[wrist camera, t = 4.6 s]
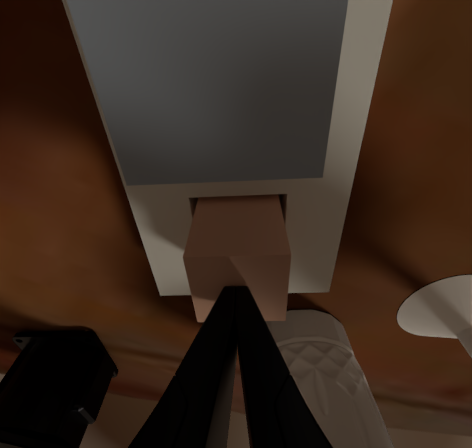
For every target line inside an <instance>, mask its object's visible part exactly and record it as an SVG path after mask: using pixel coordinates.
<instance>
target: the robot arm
mask: <svg viewBox="0 0 472 448" xmlns="http://www.w3.org/2000/svg"><path fill="white" fill-rule="evenodd" d="M12 340H13V342H14V343H15V344H16V345H17V346H18V347H19V348H20V349H21V350H22V351H21V353H20V354H19V356H18V357H17V359H16V360H15V362H14V363H13V365H12V366H11V367H10V369H9V370H8V372H7V373H6V375H5V376H4V378H3V379H2V381H1V382H0V448H79V446H80V444H81V441H82V439H83V436H84V434H85V431H86V429H87V426H88V424H93V423H94V422H95V420H96V418H97V416H98V413H99V410H100V407H101V405H102V402H103V399H104V397H105V394H106V392H107V389H108V386H109V384H110V381H111V378H112V377H116V376H117V374H118V369H117V367H116V366H115V364H114V363H113V361H112V359H111V358H110V356H109V355H108V353H107V351H106V350H105V348H104V347H103V345H102V343H101V342H100V340H99V339H98V337H97V335H96V334H95V333H93V332H21V333H16V334H15V336H14V337H13V338H12ZM237 345H238V356H239V364H240V372H241V380H242V388H243V396H244V404H245V412H246V420H247V429H248V437H249V445H250V448H333V447H332V445H331V444H330V442H329V440H328V439H327V437H326V436H325V434H324V432H323V431H322V429H321V428H320V426H319V425H318V423H317V421H316V419H315V418H314V416H313V414H312V413H311V411H310V409H309V408H308V406H307V404H306V402H305V400H304V398H303V397H302V395H301V393H300V391H299V389H298V387H297V385H296V383H295V381H294V379H293V377H292V375H290V371H289V369H288V367H287V365H286V363H285V361H284V359H283V357H282V355H281V352H280V350H279V348H278V346H277V344H276V342H275V340H274V338H273V336H272V334H271V332H270V330H269V328H268V326H267V324H266V322H265V320H264V318H263V316H262V314H261V311H260V309H259V307H258V305H257V303H256V301H255V299H254V297H253V295H252V293H251V291H250V289H249V287H248V286H237V287H235V286H224V287H223V289H222V291H221V292H220V294H219V296H218V298H217V300H216V301H215V303H214V305H213V307H212V309H211V310H210V312H209V314H208V316H207V317H206V319H205V321H204V323H203V325H202V326H201V328H200V330H199V332H198V334H197V335H196V337H195V339H194V341H193V342H192V344H191V346H190V348H189V350H188V351H187V353H186V355H185V357H184V359H183V360H182V362H181V364H180V366H179V368H178V369H177V371H176V373H175V375H176V376H173V378H172V380H171V382H170V383H169V385H168V387H167V389H166V390H165V392H164V394H163V395H162V397H161V399H160V400H159V402H158V404H157V405H156V407H155V408H154V410H153V412H152V413H151V415H150V416H149V418H148V419H147V421H146V422H145V424H144V425H143V426H142V428H141V429H140V431H139V432H138V434H137V435H136V437H135V438H134V439H133V441H132V442H131V444H130V445H129V447H128V448H226V447H227V439H228V429H229V420H230V412H231V403H232V394H233V386H234V377H235V368H236V359H237Z"/></svg>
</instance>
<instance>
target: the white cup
mask: <svg viewBox="0 0 472 448" xmlns="http://www.w3.org/2000/svg"><path fill="white" fill-rule="evenodd" d="M265 322H266V324H267V326H268V328H269V330H270V332H271V334H272V336H273V338H274V340H275V342H276V344H277V346H278V348H279V350H280V352H281V355H282V357H283V359H284V361H285V363H286V365H287V367H288V369H289V371H290V375H292V377H293V379H294V381H295V383H296V385H297V387H298V389H299V391H300V393H301V395H302V397H303V398H304V400H305V402H306V404H307V406H308V408H309V409H310V411H311V413H312V414H313V416H314V418H315V419H316V421H317V423H318V425H319V426H320V428H321V429H322V431H323V432H324V434H325V436H326V437H327V439H328V440H329V442H330V444H331V445H332V447H333V448H394V446H393V443H392V441H391V438H390V436H389V433H388V431H387V428H386V426H385V423H384V421H383V418H382V416H381V413H380V411H379V408H378V406H377V404H376V401H375V399H374V397H373V395H372V392H371V390H370V388H369V386H368V383H367V380H366V378H365V375H364V373H363V371H362V368H361V367H360V365H359V364H358V362H357V360H356V358H355V356H354V353H353V350H352V348H351V345H350V342H349V340H348V337H347V335H346V332H345V330H344V327H343V325H342V324H341V323H340V322H339V321H338V320H337V319H335V318H334V317H333V316H332V315H330V314H327V313H324V312H320V311H316V310H312V309H308V310H290V311H287V312H286V321H265Z"/></svg>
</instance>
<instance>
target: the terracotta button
mask: <svg viewBox="0 0 472 448" xmlns="http://www.w3.org/2000/svg"><path fill="white" fill-rule="evenodd" d="M183 261H184V266H185V270H186V274H187V279H188V283H189V287H190V292H191V296H192V300H193V305H194V309H195V313H196V318H197V322H204V321H205V319H206V317H207V316H208V314H209V312H210V310H211V309H212V307H213V305H214V303H215V301H216V300H217V298H218V296H219V294H220V292H221V291H222V289H223V287H224V286H235V287H237V286H248V287H249V289H250V291H251V293H252V295H253V297H254V299H255V301H256V303H257V305H258V307H259V309H260V311H261V314H262V316H263V318H264V320H265V321H286V311H287V299H288V288H289V276H290V264H291V251H290V246H289V241H288V237H287V232H286V228H285V223H284V219H283V214H282V209H281V205H280V200H279V196H278V194H270V195H244V196H218V197H198V201H197V205H196V209H195V213H194V216H193V220H192V224H191V228H190V231H189V235H188V239H187V243H186V247H185V250H184V254H183Z"/></svg>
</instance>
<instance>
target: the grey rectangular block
mask: <svg viewBox="0 0 472 448" xmlns="http://www.w3.org/2000/svg"><path fill="white" fill-rule="evenodd" d="M67 3H68V6H69V9H70V13H71V16H72V19H73V22H74V25H75V28H76V31H77V34H78V37H79V40H80V43H81V46H82V49H83V53H84V56H85V59H86V62H87V65H88V68H89V71H90V74H91V77H92V80H93V83H94V86H95V89H96V92H97V96H98V99H99V102H100V105H101V108H102V111H103V114H104V117H105V120H106V123H107V126H108V129H109V132H110V136H111V139H112V142H113V145H114V148H115V151H116V154H117V157H118V160H119V163H120V166H121V169H122V172H123V176H124V179H125V182H126V185H127V186H132V185H156V184H180V183H204V182H228V181H253V180H277V179H301V178H323V172H324V165H325V158H326V151H327V144H328V138H329V131H330V124H331V117H332V110H333V103H334V96H335V89H336V82H337V75H338V68H339V61H340V55H341V48H342V41H343V34H344V27H345V20H346V13H347V6H348V0H67Z"/></svg>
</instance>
